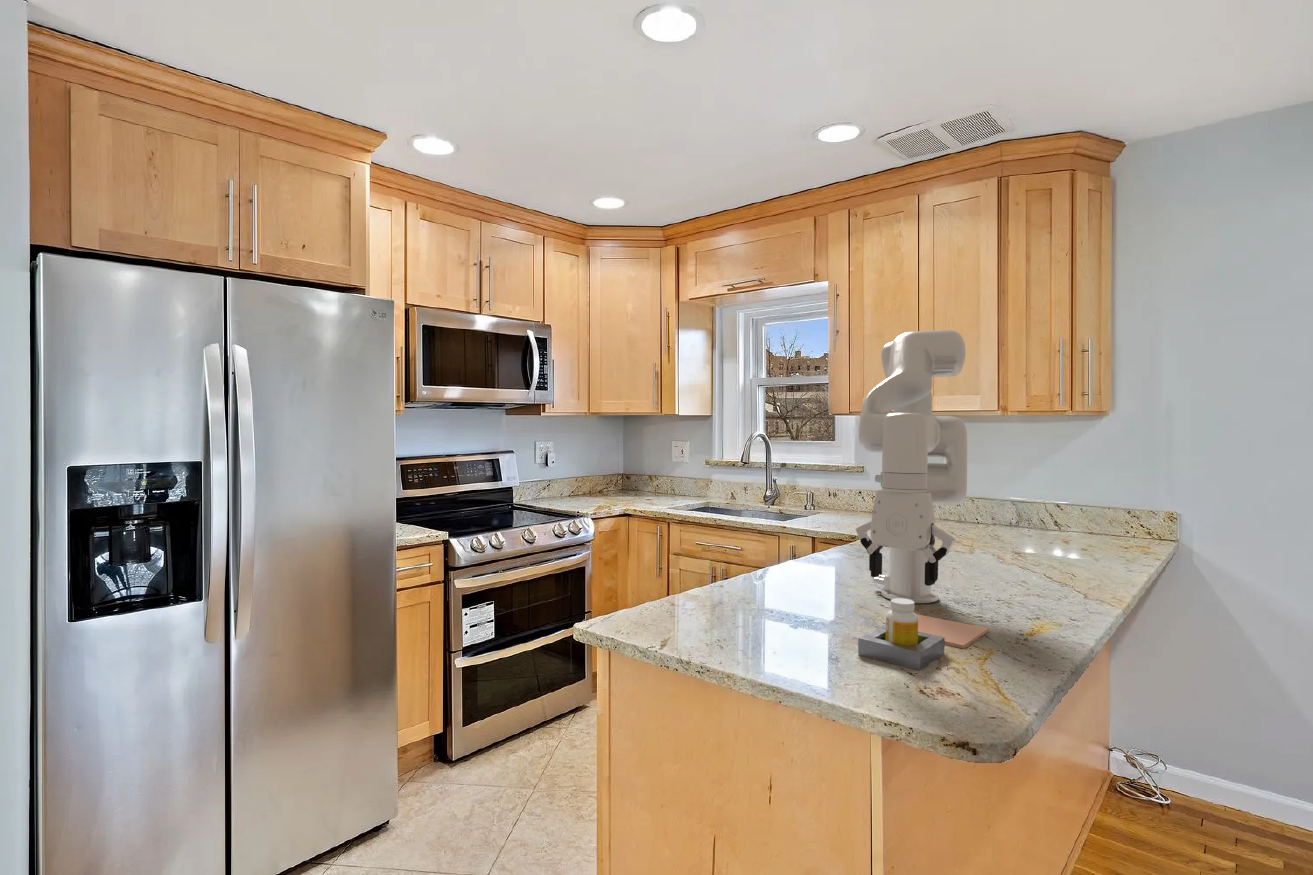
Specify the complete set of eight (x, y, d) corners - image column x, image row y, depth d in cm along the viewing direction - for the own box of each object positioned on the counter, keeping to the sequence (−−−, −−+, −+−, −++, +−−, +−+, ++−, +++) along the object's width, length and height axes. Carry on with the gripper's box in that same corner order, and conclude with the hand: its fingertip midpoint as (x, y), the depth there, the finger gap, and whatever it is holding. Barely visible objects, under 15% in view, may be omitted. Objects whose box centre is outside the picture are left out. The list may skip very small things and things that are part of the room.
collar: (858, 654, 122) (858, 637, 122) (884, 640, 130) (885, 624, 130) (920, 670, 114) (920, 652, 114) (944, 653, 123) (944, 637, 122)
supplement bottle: (878, 651, 123) (879, 598, 123) (901, 647, 126) (902, 595, 126) (901, 661, 119) (902, 606, 118) (924, 657, 121) (925, 602, 121)
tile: (889, 632, 135) (889, 628, 135) (917, 617, 145) (917, 614, 145) (963, 648, 126) (963, 645, 126) (988, 631, 136) (988, 628, 136)
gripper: (848, 481, 124) (847, 575, 124) (946, 487, 113) (944, 591, 113) (867, 479, 130) (865, 570, 130) (962, 485, 118) (960, 584, 118)
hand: (902, 580), depth 121 cm, fingers open, 9 cm apart
